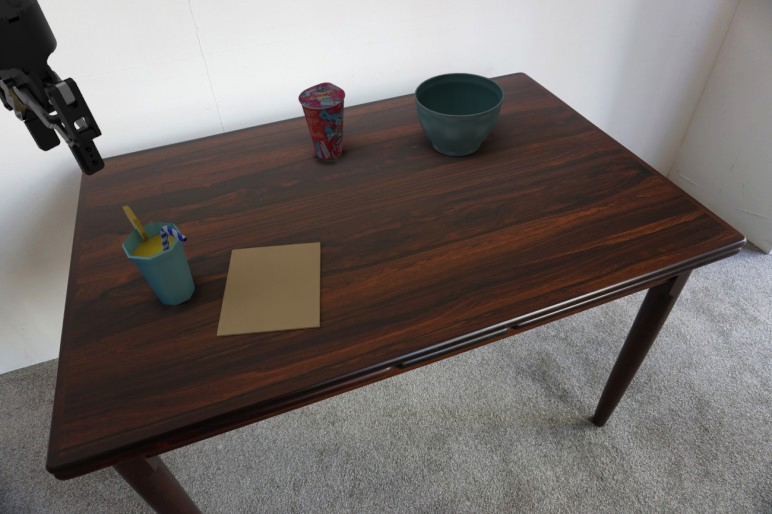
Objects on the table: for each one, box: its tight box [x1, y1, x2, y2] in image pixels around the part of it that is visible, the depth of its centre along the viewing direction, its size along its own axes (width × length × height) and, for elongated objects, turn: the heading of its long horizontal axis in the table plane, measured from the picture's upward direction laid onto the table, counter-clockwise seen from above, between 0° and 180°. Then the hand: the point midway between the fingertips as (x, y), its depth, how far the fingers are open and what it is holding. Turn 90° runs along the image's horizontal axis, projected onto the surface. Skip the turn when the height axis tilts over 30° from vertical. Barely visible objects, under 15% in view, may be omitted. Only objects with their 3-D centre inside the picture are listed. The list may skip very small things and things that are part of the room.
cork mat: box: [216, 241, 321, 338], centre depth 77 cm, size 14×17×1 cm
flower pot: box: [414, 72, 505, 157], centre depth 99 cm, size 16×16×11 cm
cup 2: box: [297, 81, 346, 161], centre depth 98 cm, size 9×8×12 cm
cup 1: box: [121, 205, 196, 306], centre depth 72 cm, size 14×8×15 cm, turn 59°
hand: (72, 158), depth 57 cm, fingers open, 8 cm apart
